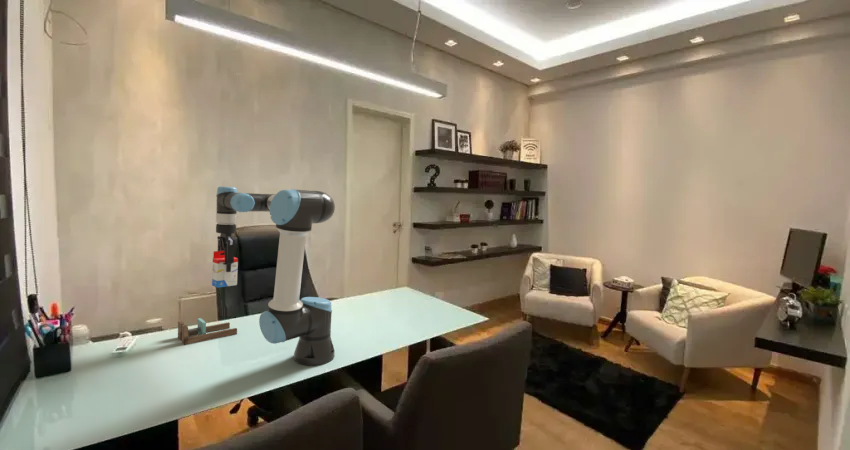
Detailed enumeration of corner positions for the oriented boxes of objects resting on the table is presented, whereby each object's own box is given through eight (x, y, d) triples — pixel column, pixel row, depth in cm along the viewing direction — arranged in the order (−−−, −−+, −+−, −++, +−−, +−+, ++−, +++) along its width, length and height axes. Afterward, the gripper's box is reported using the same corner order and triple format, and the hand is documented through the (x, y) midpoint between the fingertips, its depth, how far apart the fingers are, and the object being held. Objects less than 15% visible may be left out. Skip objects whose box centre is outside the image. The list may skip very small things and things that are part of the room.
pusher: (205, 338, 160) (206, 322, 160) (186, 342, 155) (186, 325, 155) (200, 333, 165) (200, 318, 165) (181, 337, 160) (181, 321, 160)
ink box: (217, 288, 158) (217, 253, 157) (211, 285, 161) (212, 251, 160) (237, 285, 165) (238, 251, 163) (232, 282, 168) (232, 249, 166)
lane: (237, 334, 168) (237, 318, 167) (184, 345, 153) (184, 328, 153) (228, 327, 175) (228, 312, 174) (177, 337, 161) (178, 321, 160)
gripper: (243, 225, 157) (242, 281, 159) (228, 221, 170) (226, 272, 172) (224, 226, 151) (222, 283, 153) (209, 221, 164) (208, 274, 166)
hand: (224, 277), depth 162 cm, fingers closed on ink box, 5 cm apart
